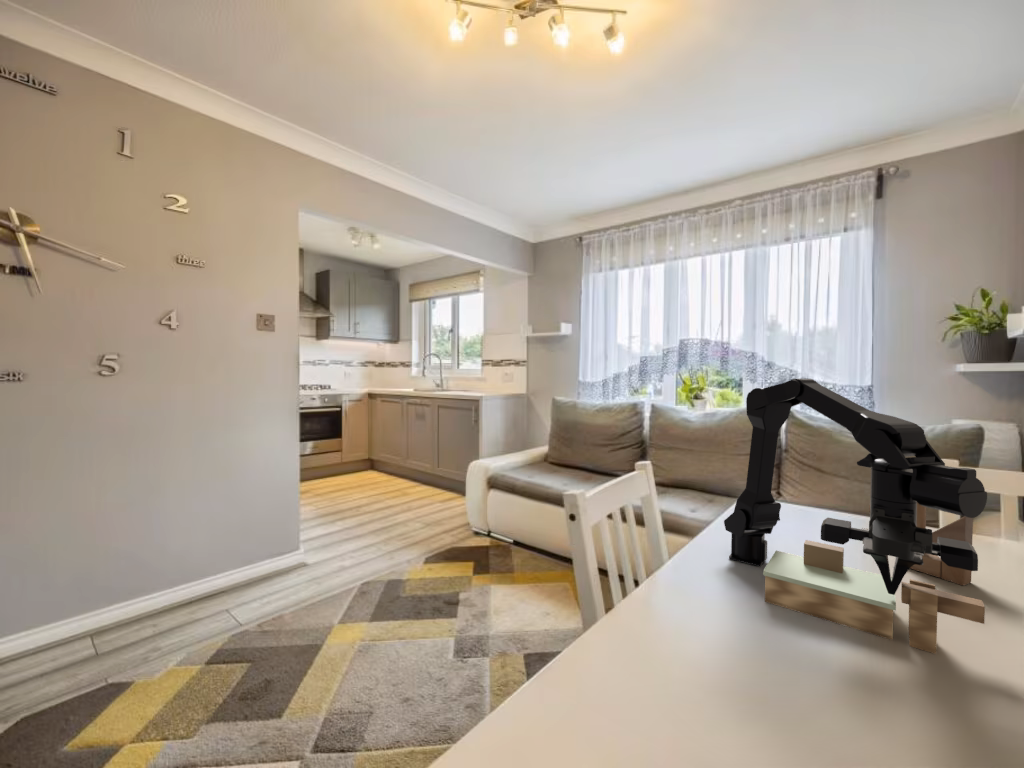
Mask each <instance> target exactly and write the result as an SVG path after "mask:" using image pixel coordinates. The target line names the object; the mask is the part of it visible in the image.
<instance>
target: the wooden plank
mask: <svg viewBox="0 0 1024 768" xmlns="http://www.w3.org/2000/svg"><path fill="white" fill-rule="evenodd" d="M911 588H914V589H918V590H922V591H926V592H931V593H935V594H937V595H938V604H937V613H940V614H944V615H949V616H952V617H956V618H959V619H963V620H968V621H971V622H976V623H979V624H985V615H986V614H985V611H986V610H985V609H986V607H985V604H984V601H983V600H982V599H979V598H978V599H977V598H973V597H968V596H964V595H960V594H957V593H951V592H947V591H943V590H940V589H939V590H938V589H936V588H935V589H931V588H927V587H922V586H918V585H914V584H910V582H909V583H908V582H905V581H901V589H900V590H901V592H900V593H901V595H900V596H901V597H900V598H901V603H902V604H905V605H908V606H909V605H910V599H911Z"/></svg>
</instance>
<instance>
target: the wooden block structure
mask: <svg viewBox="0 0 1024 768" xmlns="http://www.w3.org/2000/svg"><path fill="white" fill-rule="evenodd" d="M916 527H920V528H926V529H927V507H924V506H921V505H920V504H919V503H918V502H917V526H916ZM973 528H974V518H969V517H965V516H962V517H960V518H959V519H956V520H955V521H952V522H950V523H949V524H947V525H945V526H941V528H938V529H937V530H935V531H932V542H934V543H937V539H938V537H942V538H948V539H954V540H960V541H965V542H969V543H970V544H971V545H972V546H973V533H974V532H973V531H974V529H973ZM922 557H923V565H916V564H915V565H913V566H912V567H911V568H910V569H911V570H914V571H917V572H920V573H923V574H926V575H930V576H933V577H935V578H938V579H941V580H944V581H946V582H950V583H952V584H956V585H961V586H966V585H968V584H971V583H972V571H970V570H965V569H960V568H955V567H950V566H947V565H946V564H945V563H944V562H943V561H942V560H941V558H940V556H936V555H931V554H926V553H924V556H922ZM910 569H909V570H910Z"/></svg>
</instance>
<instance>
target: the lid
mask: <svg viewBox="0 0 1024 768" xmlns="http://www.w3.org/2000/svg"><path fill="white" fill-rule="evenodd" d="M844 553H845V549H844V547H842V546H836V545H832V544H828V543H821V542H819V541H812V540H808V539H805V541H804V543H803V556H801V555H797V554H793V553H788V552H786V551H780V550H775V551H774V553H773V555H772V556H771V558H770V559H769V560H768V562H767V564H766V566H765V567H764V569H763V572H762V575H763V576H764V577H765V576H768V577H772V578H775V579H779V580H783V581H787V582H790V583H794V584H798V585H802V586H805V587H809V588H813V589H817V590H820V591H824V592H828V593H832V594H835V595H839V596H843V597H846V598H850V599H854V600H858V601H861V602H865V603H869V604H873V605H876V606H880V607H884V608H888V609H891V610H893V611H894V612H895V611H897V600H896V599H897V597H896V594H895V595H892V594H888V591H887V589H886V586H885V583H884V580H883V578H882V575H881V573H875V572H871V571H866V570H862V569H858V568H854V567H850V566H845V565H844V563H845V562H844V560H845V559H844V557H845V554H844ZM891 581H892V576H891Z"/></svg>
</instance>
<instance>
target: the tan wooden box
mask: <svg viewBox="0 0 1024 768" xmlns="http://www.w3.org/2000/svg"><path fill="white" fill-rule="evenodd" d="M764 579H765V580H764V583H765V584H764V585H765V586H764V602H766V603H768V604H772V605H775V606H778V607H782V608H785V609H788V610H791V611H795V612H799V613H802V614H804V615H807V616H812V617H815V618H818V619H822V620H824V621H829V622H832V623H834V624H837V625H841V626H844V627H848V628H851V629H854V630H859V631H861V632H864V633H868V634H872V635H874V636H878V637H880V638H881V637H882V638H883V639H888V640H891V641H892V640H893V639H894V638H893V637H894V610H891V609H888V608H884V607H880V606H876V605H873V604H869V603H865V602H861V601H858V600H854V599H850V598H846V597H843V596H839V595H835V594H832V593H828V592H824V591H820V590H817V589H813V588H809V587H805V586H802V585H798V584H794V583H790V582H787V581H783V580H779V579H775V578H772V577H768V576H764ZM909 584H914V585H918V586H922V587H927V588H931V589H935V590H936V584H935V583H933V584H932V583H929V582H925V581H919V580H916V579H911V578H910V579H909ZM937 604H938V595H937V594H935V593H931V592H926V591H922V590H918V589H914V588H911V599H910V605H908V627H907V628H908V629H907V631H908V633H907V634H908V644H909V647H911V648H914V649H918V650H922V651H925V652H927V653H930V654H935V655H937V639H938V637H937V636H938V635H937V633H938V632H937V630H938V612H937Z"/></svg>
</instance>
